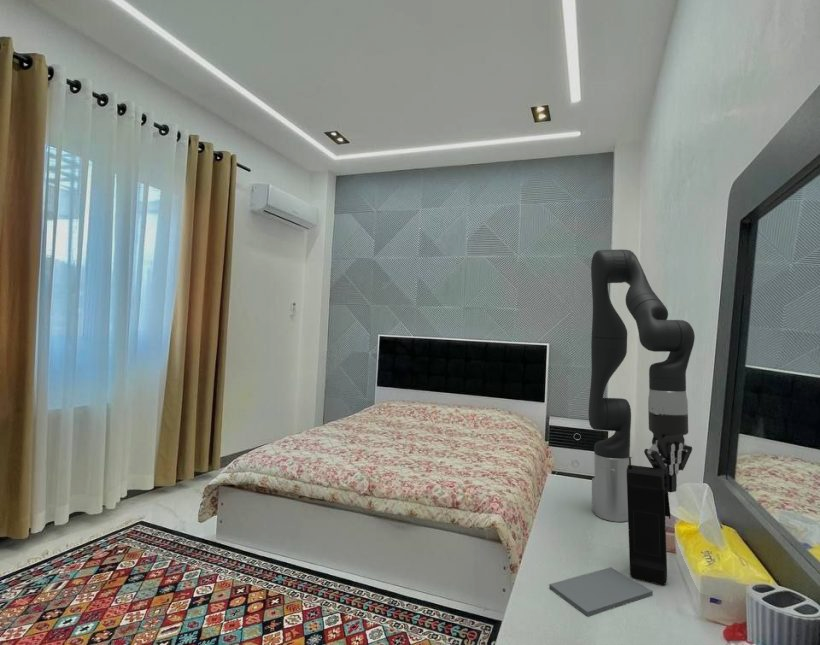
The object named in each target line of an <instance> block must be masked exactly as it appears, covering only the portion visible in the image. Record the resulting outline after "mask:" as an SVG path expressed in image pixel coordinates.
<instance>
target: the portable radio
mask: <svg viewBox="0 0 820 645" xmlns="http://www.w3.org/2000/svg"><path fill="white" fill-rule="evenodd" d="M628 458H629V465H628V467H627V499H628V521H627V526H628V553H629V574H630V576H631V577H630V578H631V579H632V578H633V580H634V579H635V580H639V581H643V582H647V583H652V584H655V585H660V586H664V585H666V584H667V582H668V561H667V560H668V558H667V530H666V528H667V527H666V523H667V522H666V517H668V519H669V520H671V517H672V516H671V507H670V497H669V492H668V489H666V491H665V490H664V469H660V468H653V467H652V466H651V467H649V466H642V465H633V464H632V459H633V457H632V456H630V457H628Z"/></svg>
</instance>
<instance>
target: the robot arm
mask: <svg viewBox="0 0 820 645" xmlns="http://www.w3.org/2000/svg"><path fill="white" fill-rule="evenodd" d="M590 276H591V294H592V296H591V297H592V321H591V342H590V343H591V344H590V345H591V346H590V347H591V349H590V350H591V356H590V357H591V374H590V375H591V378H590V389H589V400H588V412H587V413H588V423H589V426H590V428H591V429H592V430H595V431H605V432H607V431H608V432H609V431H610V432H612V431H613V432H614V433H613V434H612V435H611V436H609V437H608V438H605V439H601V440H599V441H597V442H595V443H594V448H593V450H594V454H593V455H594V456H593V457H594V458H593V461H594V477H592V478H591V511H592V512H593V513H594V514H595V515H596V516H597V517H599V519H600V518H601V519H602V520H605V521H606V520H607V521H609V522H617V523H619V522H623V523H625V522H628V499H627V467H628V465H629V458H628V457H631V456H630V455H631V453H630V452H631V428H632V427H631V426H632V412H631V411H632V408H631V405H630V403H629V401H628V400H627V399H626V398H622V397H620V398H618V397H604V393H605V391H606V388H607V385H608V383H609V381H610V379H611V378H612V376H613V375H614V374H615V372H616V371H617V369H618V368H619V367H620V366H621V364H622V363H623V362H624V360H625V358H626V356H627V353H628V329H627V327H626V325H625V322H624V321H623V319H622V318H621V316H620V314H619V313H618V311H617V310H616V308H615V307H614V306H613V303H612V301H611V298H610V293H609V286H608V284H623V283H626V284H627V285H628V286H629V288H628V289H627V292H626V294H625V305H626V308H627V310H628V313H630V315H631V316H632V317H633V319H634V321H635V324H636V327H637V332H638V339H639V342H640V345H641V346H642V347H643V348H644V349H646V350H648V351H650V352H657V353H659V352H664V353H666V352H667V353H668V352H669V354H668V356H667V358H666V359H665V360H664V361H659V362H654V363H652V364H651V365H650V366H649V369H648V379H649V380H648V386H649V387H648V390H649V391H648V398H647V400H648V402H647V403H648V408H647V409H648V410H647V411H648V412H647V413H648V430H649V431H650V432H651V433H652V440H651V444H652V445H651V446H650V447H649V448H645V449H644V451H643V453H644V455H645V456H646V458H647V459H648V461H649V463H650V465H651V467H652V468H660V469H664V490H665V491H666V489H668V493H670V494H671V493H675V492H677V485H678V483H677V481H678V480H677V475H678V474H679V471H684V469H685V467H686V465H687V463H688V460H689V458H690V455H691V454H692V451H693V447H692V446H690V445H687V444H686V443H685V442H686V440H685V436H686V435H688V434H689V409H688V408H689V407H688V406H689V405H688V404H689V402H688V396H687V376H686V374H687V368H688V365H689V361H690V357H691V355H692V351H693V347H694V344H695V338H696V337H695V331H694V329H693V327H692V325H691V324H690V322H688V321H687V320H682V319H668V317H669V312H668V309H667V306H665V305H664V303H663V301H661V299H660V297H659V296H658V295H657V293H655V291H654V289H652V287H651V285H650V283H649V280H648V279H647V277H646V274H645V272H644V269H643V267H642V265H641V263H640V261H639V258H638V257H637V256H636V254H635V253H634V252H633V251H632V250H631V249H630V250H629V249H598V250H596V251H595V252H594V253H593V255H592V258H591V263H590Z"/></svg>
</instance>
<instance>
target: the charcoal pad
mask: <svg viewBox="0 0 820 645" xmlns="http://www.w3.org/2000/svg"><path fill="white" fill-rule="evenodd" d="M548 585H549V586H548V587H549V589H550V591H552V590H553V591H552V592H553V593H555V592H556V593H555V594H557V595H558V594H559V595H560V596H559V595H558V596H559V597H560V598H562V599H563V598H564V599H563V600H565V602H567V603H569V605H571V604H572V605H571V606H573V607H574V608H575V609H576V610H578V611H579V612H581V613H582V614H584V615H585V616H586V617H590V616H593V615H597V614H600V613H603V612H606V611H609V610H612V609H614V607H615V608H618V607H621V606H624V605H627V604H626V603H628V604H631V603H634V602H636V601H639V600H642V599H645V598H648V597H652V596H653V593H654V591H653V590H652V589H650V588H648V587H647V586H645V585H643V584H641V583H639V582H637V581H636V580H634V578H633V579H632V577H629V576H628V575H626V574H624V573H622V572H620V571H618V570H617V569H615V568H614V567H612V566H609V567H605V568H603V569H599V570H596V571H595V570H594V571H592V572H589V573H585V574H581V575H578V576H574V577H570V578H567V579H563V580H559V581H556V582H553V583H549V584H548ZM630 602H631V603H630ZM623 604H624V605H623ZM620 605H621V606H620ZM617 606H618V607H617Z"/></svg>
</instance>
